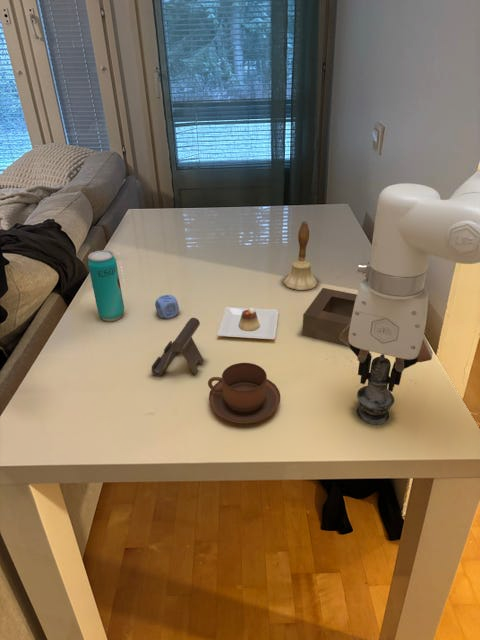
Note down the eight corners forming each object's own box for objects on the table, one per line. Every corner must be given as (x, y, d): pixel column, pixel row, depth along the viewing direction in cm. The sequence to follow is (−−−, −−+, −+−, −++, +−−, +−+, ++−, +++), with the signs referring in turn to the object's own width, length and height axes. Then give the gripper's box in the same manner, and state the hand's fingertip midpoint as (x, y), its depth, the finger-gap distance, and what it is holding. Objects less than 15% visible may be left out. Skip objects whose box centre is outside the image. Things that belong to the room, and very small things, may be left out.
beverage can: (128, 318, 104) (118, 256, 97) (103, 325, 102) (90, 262, 94) (120, 307, 109) (110, 247, 101) (96, 314, 106) (83, 253, 98)
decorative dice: (172, 308, 108) (170, 292, 106) (179, 315, 105) (178, 299, 103) (156, 313, 106) (154, 297, 104) (163, 320, 103) (161, 304, 101)
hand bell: (298, 273, 123) (301, 214, 114) (323, 282, 118) (328, 221, 109) (277, 283, 118) (278, 222, 110) (302, 294, 113) (306, 231, 104)
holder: (378, 319, 102) (381, 299, 100) (364, 349, 92) (367, 328, 90) (321, 306, 107) (322, 287, 105) (302, 335, 97) (303, 314, 95)
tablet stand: (171, 349, 94) (166, 313, 89) (207, 354, 92) (205, 318, 88) (152, 375, 87) (146, 337, 82) (191, 382, 85) (188, 344, 80)
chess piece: (398, 422, 75) (410, 362, 69) (363, 428, 74) (373, 368, 68) (381, 399, 80) (391, 340, 74) (348, 404, 79) (356, 345, 73)
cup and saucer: (213, 434, 73) (211, 404, 70) (206, 386, 84) (204, 358, 80) (287, 424, 75) (289, 395, 72) (271, 378, 85) (272, 351, 82)
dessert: (216, 339, 96) (215, 320, 94) (226, 310, 106) (225, 292, 104) (274, 343, 95) (275, 323, 92) (278, 313, 105) (279, 295, 102)
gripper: (329, 278, 64) (320, 382, 74) (458, 301, 58) (430, 412, 67) (343, 258, 70) (333, 357, 79) (463, 277, 64) (436, 382, 73)
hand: (378, 381), depth 73 cm, fingers closed on chess piece, 3 cm apart
